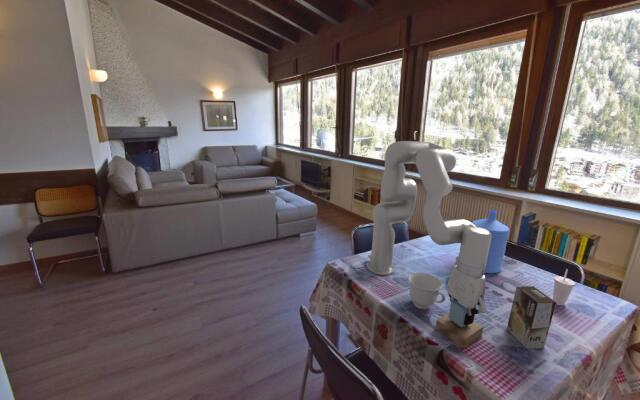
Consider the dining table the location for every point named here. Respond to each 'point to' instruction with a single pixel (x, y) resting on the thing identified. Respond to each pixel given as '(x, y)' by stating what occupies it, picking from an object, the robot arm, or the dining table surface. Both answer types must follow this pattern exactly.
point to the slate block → (458, 312)
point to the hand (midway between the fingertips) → (460, 317)
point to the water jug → (494, 241)
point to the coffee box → (531, 316)
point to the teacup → (425, 290)
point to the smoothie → (562, 289)
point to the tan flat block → (459, 331)
